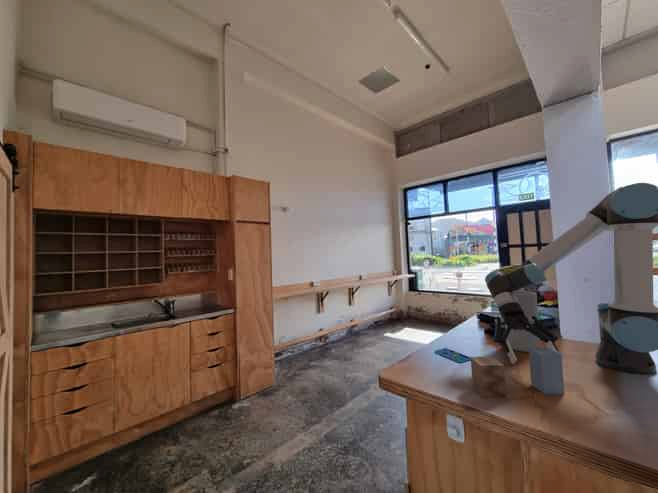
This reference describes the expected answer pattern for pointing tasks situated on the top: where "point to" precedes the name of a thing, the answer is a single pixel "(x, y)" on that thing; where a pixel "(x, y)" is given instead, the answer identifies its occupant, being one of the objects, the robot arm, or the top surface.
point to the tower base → (489, 388)
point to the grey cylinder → (522, 338)
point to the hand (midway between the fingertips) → (536, 362)
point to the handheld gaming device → (453, 355)
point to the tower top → (487, 369)
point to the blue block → (546, 370)
